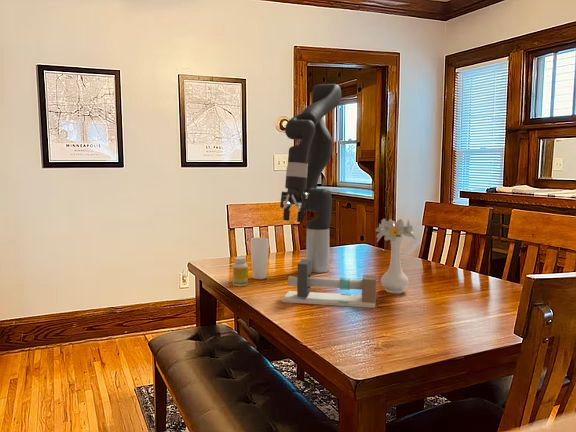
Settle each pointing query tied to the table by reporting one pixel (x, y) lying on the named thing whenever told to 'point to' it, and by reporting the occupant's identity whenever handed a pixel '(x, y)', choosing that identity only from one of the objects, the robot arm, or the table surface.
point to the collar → (303, 277)
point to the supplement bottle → (240, 272)
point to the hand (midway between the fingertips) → (292, 221)
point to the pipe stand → (336, 299)
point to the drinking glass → (259, 257)
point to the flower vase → (394, 254)
